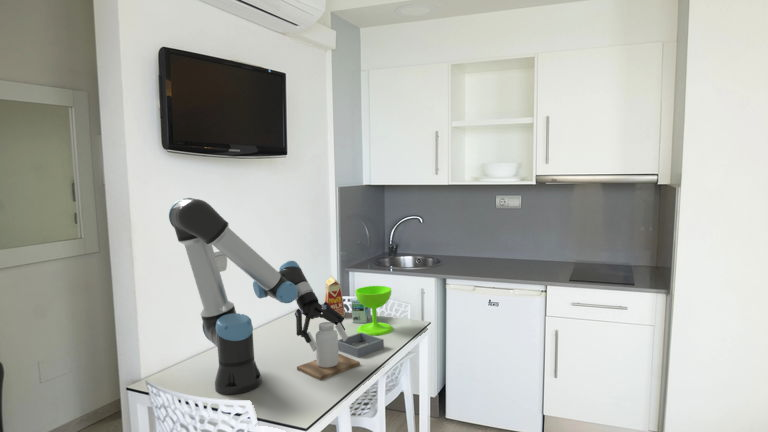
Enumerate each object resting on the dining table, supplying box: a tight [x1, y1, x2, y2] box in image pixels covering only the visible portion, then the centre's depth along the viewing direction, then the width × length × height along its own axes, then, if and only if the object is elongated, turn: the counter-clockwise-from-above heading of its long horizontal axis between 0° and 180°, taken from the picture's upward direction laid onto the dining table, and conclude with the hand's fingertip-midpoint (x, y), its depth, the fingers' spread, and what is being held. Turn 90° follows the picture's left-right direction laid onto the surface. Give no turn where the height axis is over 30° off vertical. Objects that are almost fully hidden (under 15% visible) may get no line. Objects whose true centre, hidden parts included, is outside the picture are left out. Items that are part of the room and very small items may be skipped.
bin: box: [338, 332, 385, 359], centre depth 206 cm, size 14×14×4 cm
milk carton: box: [324, 274, 346, 317], centre depth 253 cm, size 9×9×20 cm
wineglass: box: [354, 285, 394, 337], centre depth 228 cm, size 16×16×18 cm
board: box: [296, 353, 361, 381], centre depth 188 cm, size 18×14×1 cm
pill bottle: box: [315, 321, 339, 368], centre depth 187 cm, size 8×8×15 cm
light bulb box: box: [351, 296, 372, 324], centre depth 244 cm, size 11×7×11 cm, turn 168°
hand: (331, 344), depth 185 cm, fingers open, 13 cm apart
